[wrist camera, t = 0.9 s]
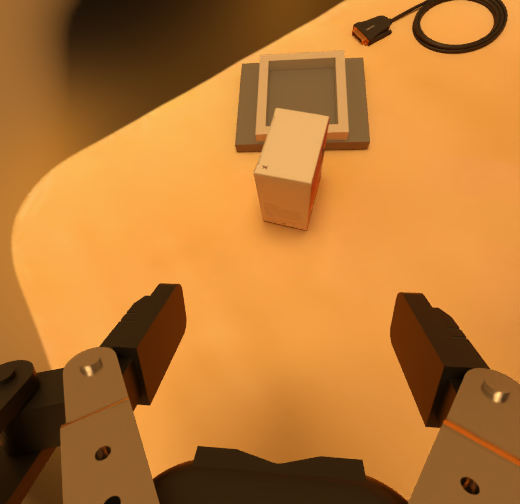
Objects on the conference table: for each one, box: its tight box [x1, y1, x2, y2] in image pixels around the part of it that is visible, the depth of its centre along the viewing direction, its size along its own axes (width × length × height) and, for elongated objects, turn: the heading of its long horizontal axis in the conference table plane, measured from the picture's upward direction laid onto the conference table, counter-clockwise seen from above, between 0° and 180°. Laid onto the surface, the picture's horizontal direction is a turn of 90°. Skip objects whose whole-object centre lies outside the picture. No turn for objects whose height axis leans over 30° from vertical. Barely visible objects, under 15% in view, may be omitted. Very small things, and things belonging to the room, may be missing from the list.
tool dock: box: [235, 50, 370, 152], centre depth 42 cm, size 17×14×3 cm
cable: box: [352, 0, 508, 53], centre depth 46 cm, size 14×28×2 cm, turn 119°
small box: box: [254, 108, 330, 230], centre depth 34 cm, size 8×6×10 cm
